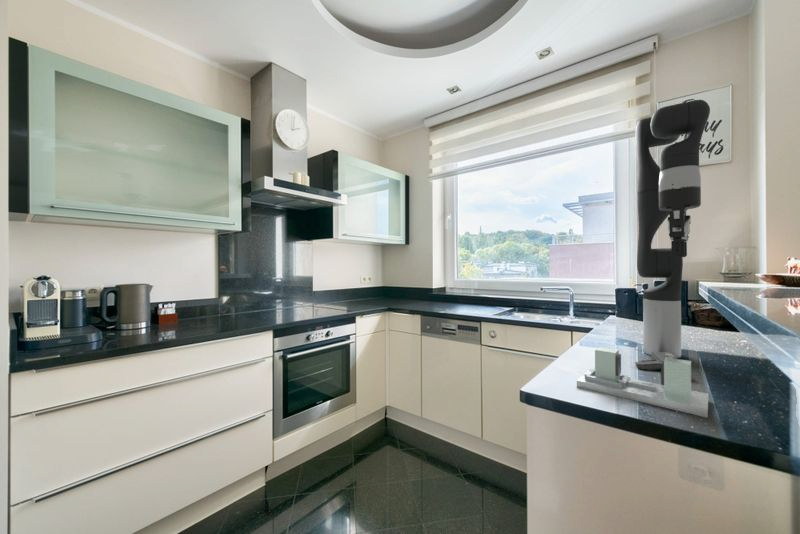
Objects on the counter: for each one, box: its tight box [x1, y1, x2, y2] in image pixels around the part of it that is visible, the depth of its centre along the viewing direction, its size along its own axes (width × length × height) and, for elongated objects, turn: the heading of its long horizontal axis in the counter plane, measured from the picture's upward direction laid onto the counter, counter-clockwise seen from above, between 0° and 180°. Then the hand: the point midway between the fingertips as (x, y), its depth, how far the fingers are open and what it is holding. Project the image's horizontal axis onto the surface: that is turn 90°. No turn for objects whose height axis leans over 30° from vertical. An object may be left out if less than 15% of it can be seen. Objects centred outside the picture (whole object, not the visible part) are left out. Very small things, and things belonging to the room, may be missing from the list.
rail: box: [576, 357, 709, 418], centre depth 70 cm, size 10×22×8 cm, turn 45°
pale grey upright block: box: [594, 346, 622, 381], centre depth 74 cm, size 4×4×7 cm
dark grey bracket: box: [634, 352, 679, 371], centre depth 88 cm, size 4×16×10 cm
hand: (679, 257), depth 76 cm, fingers open, 8 cm apart
